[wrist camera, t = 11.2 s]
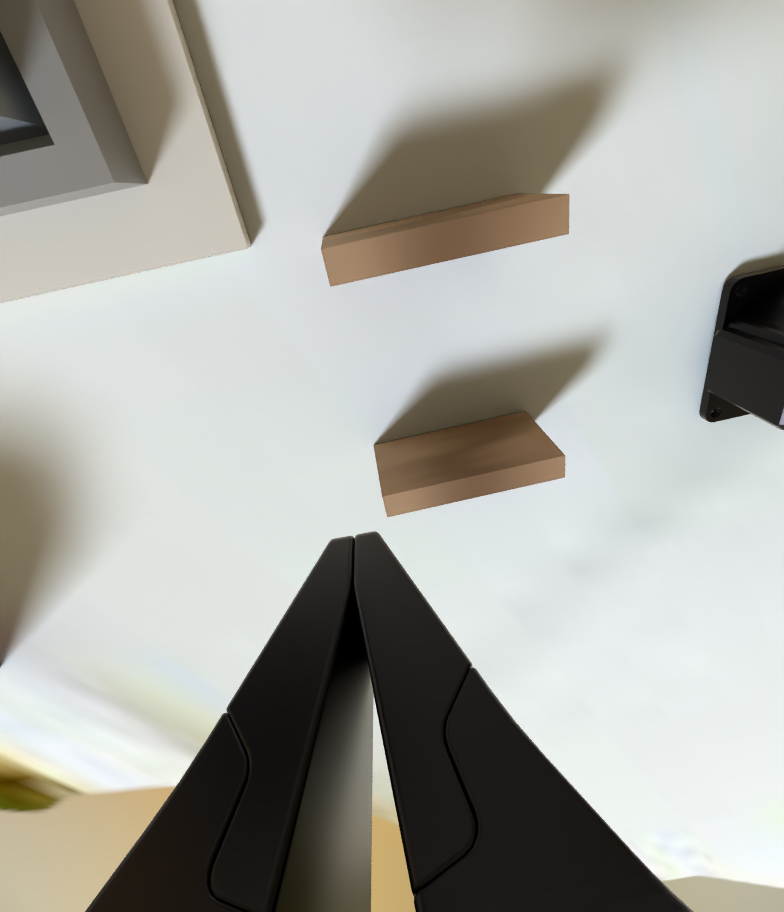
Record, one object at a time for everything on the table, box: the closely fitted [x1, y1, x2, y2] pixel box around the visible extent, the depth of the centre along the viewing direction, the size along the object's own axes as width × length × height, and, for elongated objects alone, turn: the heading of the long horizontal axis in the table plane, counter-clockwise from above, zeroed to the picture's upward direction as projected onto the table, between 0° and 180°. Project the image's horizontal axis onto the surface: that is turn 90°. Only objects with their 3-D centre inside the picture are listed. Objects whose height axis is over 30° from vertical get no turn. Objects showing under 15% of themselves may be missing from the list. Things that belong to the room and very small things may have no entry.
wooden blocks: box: [321, 194, 569, 517], centre depth 17 cm, size 7×10×4 cm
